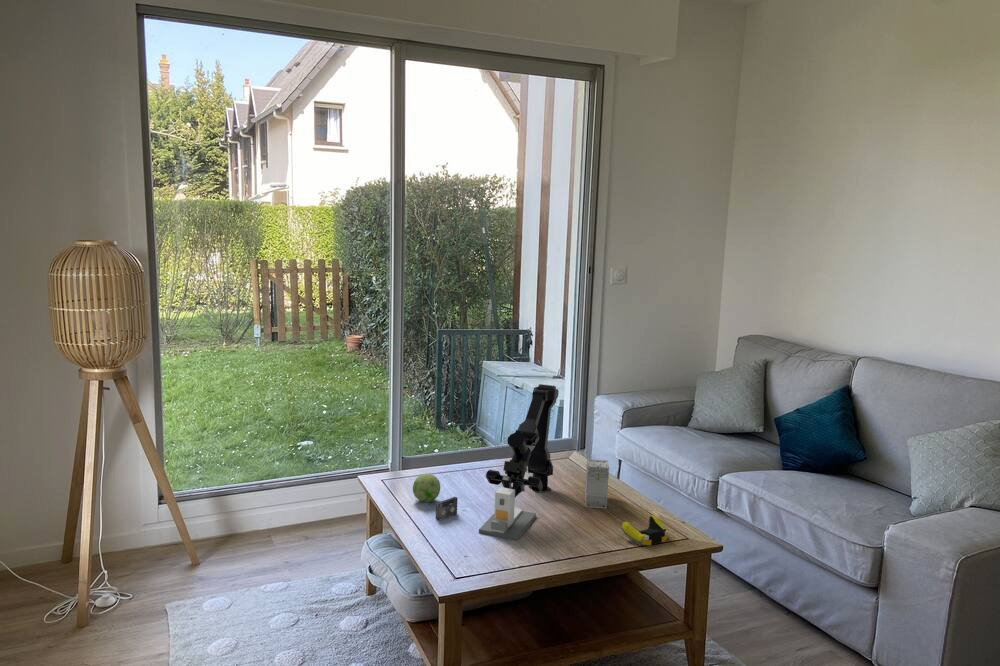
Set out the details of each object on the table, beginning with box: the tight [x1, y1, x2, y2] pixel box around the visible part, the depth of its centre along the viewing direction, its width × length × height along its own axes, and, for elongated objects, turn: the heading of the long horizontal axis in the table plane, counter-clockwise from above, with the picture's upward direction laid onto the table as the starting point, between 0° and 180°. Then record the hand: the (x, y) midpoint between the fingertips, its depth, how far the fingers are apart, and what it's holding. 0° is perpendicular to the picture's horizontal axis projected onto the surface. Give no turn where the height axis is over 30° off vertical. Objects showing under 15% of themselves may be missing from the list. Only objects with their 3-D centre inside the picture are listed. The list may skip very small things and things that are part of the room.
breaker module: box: [494, 486, 516, 529], centre depth 233 cm, size 6×5×12 cm
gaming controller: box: [621, 515, 669, 547], centre depth 231 cm, size 15×6×10 cm
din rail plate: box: [478, 507, 537, 541], centre depth 238 cm, size 20×13×4 cm, turn 160°
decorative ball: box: [412, 473, 441, 503], centre depth 255 cm, size 10×10×10 cm
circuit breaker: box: [584, 458, 610, 509], centre depth 261 cm, size 8×14×15 cm, turn 174°
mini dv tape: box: [435, 496, 458, 521], centre depth 243 cm, size 8×2×6 cm, turn 135°
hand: (507, 504), depth 236 cm, fingers closed, pressing on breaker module
